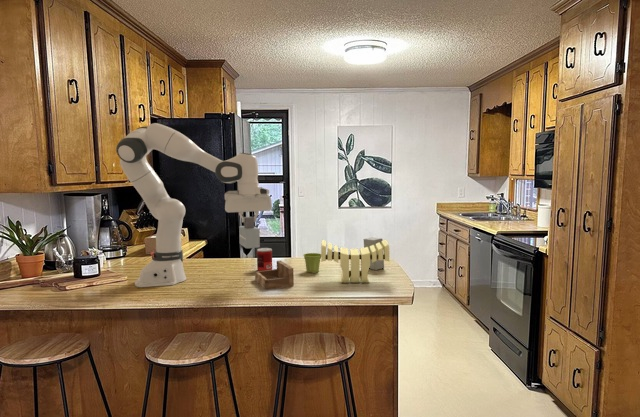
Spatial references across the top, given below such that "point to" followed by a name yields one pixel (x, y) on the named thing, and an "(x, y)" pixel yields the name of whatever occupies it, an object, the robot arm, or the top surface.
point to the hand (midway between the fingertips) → (249, 221)
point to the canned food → (264, 259)
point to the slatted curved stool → (355, 260)
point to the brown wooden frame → (276, 276)
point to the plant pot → (312, 262)
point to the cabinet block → (249, 234)
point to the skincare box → (373, 241)
